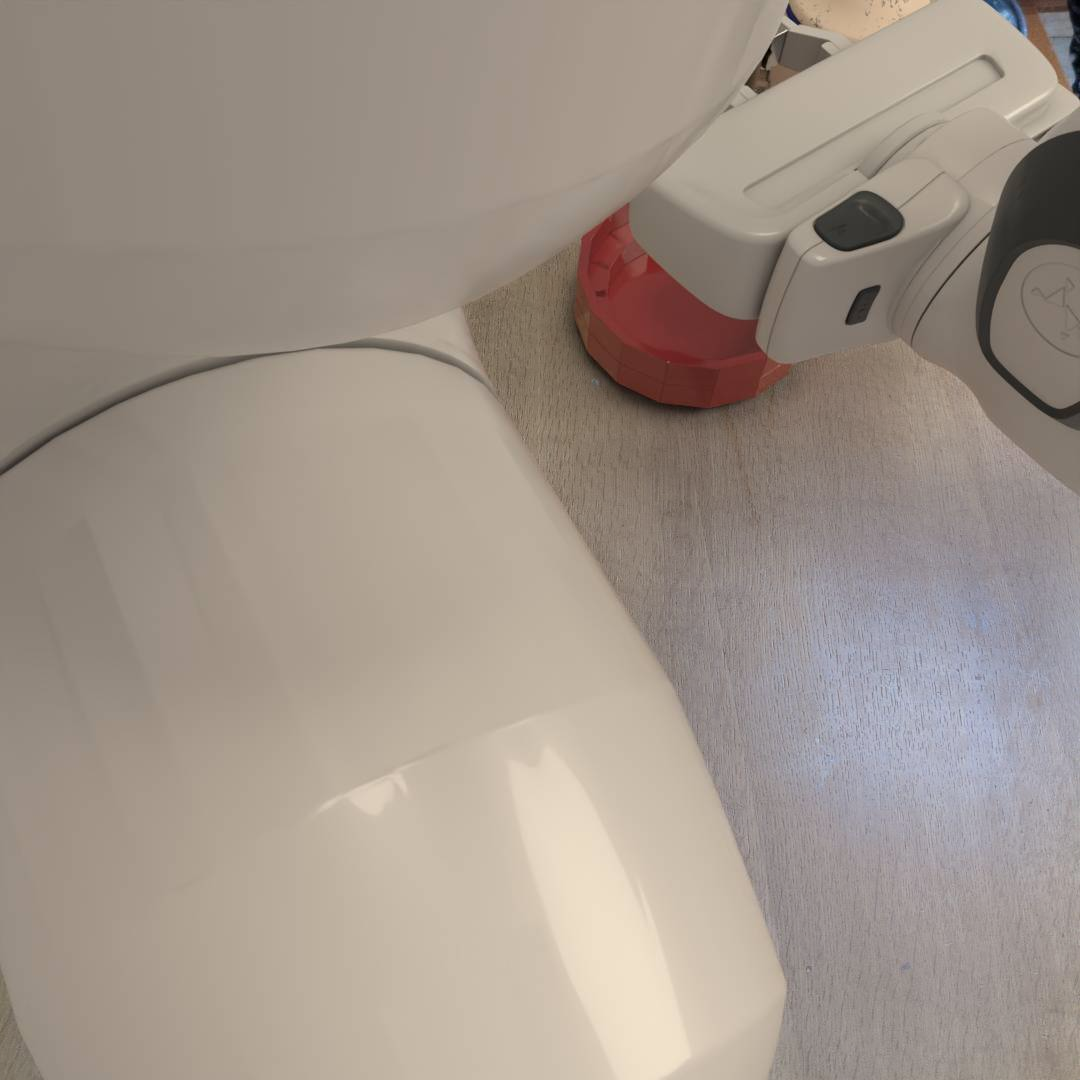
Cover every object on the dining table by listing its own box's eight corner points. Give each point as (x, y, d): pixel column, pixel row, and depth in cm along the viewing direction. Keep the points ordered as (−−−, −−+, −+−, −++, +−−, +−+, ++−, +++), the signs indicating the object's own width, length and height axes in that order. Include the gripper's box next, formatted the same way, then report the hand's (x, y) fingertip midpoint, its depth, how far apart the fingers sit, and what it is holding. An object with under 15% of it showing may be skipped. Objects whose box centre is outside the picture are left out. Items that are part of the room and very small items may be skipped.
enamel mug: (883, 75, 74) (942, -86, 64) (892, 168, 70) (956, 12, 59) (716, 64, 74) (747, -98, 64) (715, 155, 70) (748, -2, 60)
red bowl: (746, 450, 60) (762, 406, 56) (533, 350, 63) (534, 301, 59) (839, 284, 65) (860, 234, 61) (640, 200, 68) (647, 146, 64)
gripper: (1143, 63, 43) (907, -103, 48) (782, 281, 37) (555, 67, 42) (1070, 178, 49) (866, 19, 54) (747, 383, 43) (550, 184, 48)
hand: (726, 41), depth 48 cm, fingers closed on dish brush, 2 cm apart
